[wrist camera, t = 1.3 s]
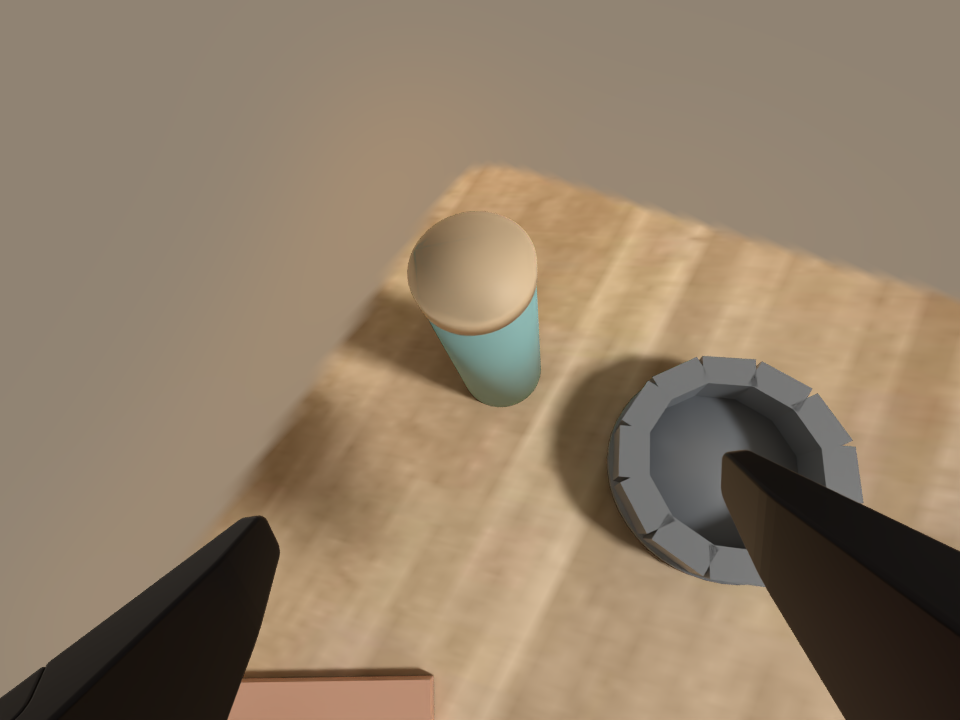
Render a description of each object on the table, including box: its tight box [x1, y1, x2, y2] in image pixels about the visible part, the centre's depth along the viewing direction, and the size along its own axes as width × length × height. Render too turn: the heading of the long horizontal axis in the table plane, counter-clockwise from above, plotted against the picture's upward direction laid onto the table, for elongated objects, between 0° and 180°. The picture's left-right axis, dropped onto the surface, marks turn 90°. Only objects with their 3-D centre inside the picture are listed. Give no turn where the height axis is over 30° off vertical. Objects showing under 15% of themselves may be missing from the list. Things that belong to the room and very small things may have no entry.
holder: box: [607, 356, 863, 587], centre depth 20 cm, size 9×9×3 cm
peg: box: [407, 211, 541, 407], centre depth 19 cm, size 4×4×10 cm
